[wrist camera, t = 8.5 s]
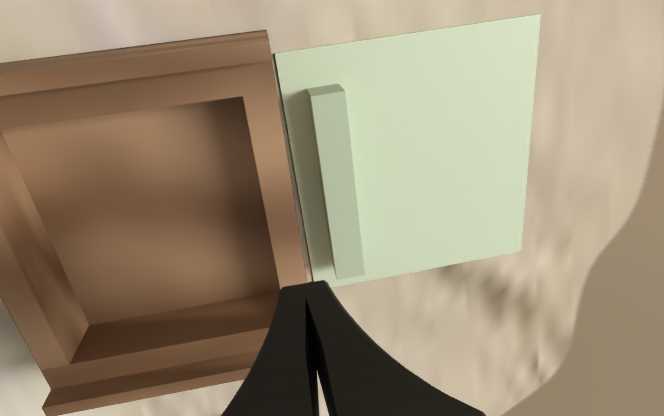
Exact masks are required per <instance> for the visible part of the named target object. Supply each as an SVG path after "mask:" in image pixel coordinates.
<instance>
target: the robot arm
mask: <svg viewBox="0 0 664 416" xmlns="http://www.w3.org/2000/svg"><path fill="white" fill-rule="evenodd" d="M316 367H317V368H316ZM317 371H318V375H319V379H320V383H321V386H322V390H323V394H324V398H325V401H326V405H327V409H328V413H329V416H486V415H485V414H484V413H483V412H482V411H480V410H478V409H476V408H473V407H471V406H469V405H467V404H465V403H463V402H461V401H459V400H457V399H455V398H453V397H451V396H449V395H447V394H445V393H443V392H442V391H440V390H438V389H436V388H435V387H433V386H431V385H430V384H428V383H427V382H425V381H424V380H423V379H421V378H420V377H418V376H417V375H415V374H414V373H412V372H411V371H409V370H408V369H406V368H405V367H404V366H402V365H401V364H400V363H399V362H397V361H396V360H395V359H393V358H392V357H391V356H390V355H389V354H388V353H386V352H385V351H384V350H383V349H382V348H381V347H380V346H379V345H377V344H376V343H375V342H374V341H373V340H372V339H371V338H370V337H369V336H368V335H367V334H366V333H365V332H364V331H363V330H362V328H361V327H360V326H359V325H358V324H357V323H356V322H355V321H354V319H353V318H352V317H351V316H350V315H349V313H348V312H347V311H346V310H345V308H344V307H343V306H342V305H341V303H340V302H339V300H338V299H337V298H336V296H335V295H334V293H333V291H332V290H331V288H330V286H329V284H328V282H326V281H325V280H320V281H314V282H309V283H303V284H297V285H291V286H285V287H282V288H281V290H280V291H279V298H278V302H277V306H276V310H275V313H274V316H273V319H272V322H271V325H270V327H269V330H268V333H267V335H266V338H265V340H264V342H263V345H262V347H261V349H260V351H259V353H258V356H257V358H256V360H255V362H254V364H253V366H252V368H251V370H250V371H249V373H248V375H247V377H246V378H245V380H244V382H243V384H242V385H241V387H240V388H239V390H238V392H237V393H236V395H235V396H234V398H233V399H232V401H231V402H230V404H229V405H228V407H227V408H226V410H225V411H224V412H223V414H222V415H221V416H319V401H318V383H317Z"/></svg>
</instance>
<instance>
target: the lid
mask: <svg viewBox="0 0 664 416" xmlns="http://www.w3.org/2000/svg"><path fill="white" fill-rule="evenodd" d="M540 17H541V14H535V15H528V16H522V17H515V18H508V19H502V20H495V21H488V22H481V23H475V24H468V25H461V26H454V27H448V28H441V29H434V30H427V31H421V32H414V33H407V34H401V35H394V36H387V37H380V38H374V39H367V40H360V41H353V42H347V43H340V44H333V45H326V46H320V47H313V48H306V49H300V50H293V51H286V52H279V53H275V59H276V64H277V70H278V76H279V82H280V88H281V94H282V99H283V105H284V111H285V117H286V123H287V128H288V134H289V140H290V146H291V152H292V157H293V163H294V169H295V175H296V181H297V187H298V192H299V198H300V204H301V210H302V216H303V221H304V227H305V233H306V239H307V245H308V251H309V256H310V262H311V268H312V274H313V280H314V281H320V280H325V281H326V282H328V284H329V286H330V288H333V287H338V286H343V285H349V284H354V283H359V282H364V281H369V280H374V279H380V278H385V277H390V276H395V275H400V274H405V273H411V272H416V271H421V270H426V269H431V268H437V267H442V266H447V265H452V264H457V263H462V262H468V261H473V260H478V259H483V258H488V257H493V256H499V255H504V254H509V253H514V252H519V251H521V244H522V232H523V220H524V208H525V196H526V184H527V172H528V160H529V148H530V136H531V124H532V112H533V101H534V89H535V77H536V65H537V53H538V41H539V29H540Z"/></svg>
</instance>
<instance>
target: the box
mask: <svg viewBox="0 0 664 416" xmlns="http://www.w3.org/2000/svg"><path fill="white" fill-rule="evenodd" d="M303 283H307V278H306V272H305V265H304V259H303V253H302V246H301V240H300V234H299V228H298V221H297V215H296V209H295V203H294V196H293V190H292V184H291V177H290V171H289V165H288V159H287V152H286V146H285V140H284V134H283V127H282V121H281V115H280V108H279V102H278V96H277V90H276V83H275V77H274V71H273V65H272V57H271V50H270V44H269V39H268V35H267V31H266V30H261V31H253V32H245V33H237V34H229V35H221V36H213V37H205V38H197V39H189V40H181V41H173V42H166V43H158V44H150V45H142V46H134V47H126V48H118V49H110V50H102V51H94V52H86V53H78V54H70V55H62V56H54V57H46V58H38V59H30V60H23V61H15V62H7V63H0V297H1V299H2V300H3V302H4V304H5V306H6V308H7V310H8V311H9V313H10V315H11V317H12V319H13V320H14V322H15V324H16V326H17V328H18V330H19V331H20V333H21V335H22V337H23V339H24V341H25V342H26V344H27V346H28V348H29V350H30V351H31V353H32V355H33V357H34V359H35V361H36V362H37V364H38V366H39V368H40V370H41V372H42V373H43V375H44V377H45V379H46V381H47V383H48V384H49V386H50V388H51V391H50V393H49V395H48V397H47V399H46V401H45V403H44V405H43V406H42V409H43V411H44V413H45V415H46V416H58V415H63V414H68V413H73V412H78V411H83V410H89V409H94V408H99V407H104V406H109V405H114V404H120V403H125V402H130V401H135V400H140V399H145V398H150V397H156V396H161V395H166V394H171V393H176V392H181V391H187V390H192V389H197V388H202V387H207V386H212V385H217V384H223V383H228V382H233V381H238V380H243V379H245V378H246V377H247V375H248V373H249V371H250V370H251V368H252V366H253V364H254V362H255V360H256V358H257V356H258V353H259V351H260V349H261V347H262V345H263V342H264V340H265V338H266V335H267V333H268V330H269V327H270V325H271V322H272V319H273V316H274V313H275V310H276V306H277V302H278V298H279V291H280V290H281V288H282V287H285V286H291V285H297V284H303Z"/></svg>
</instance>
